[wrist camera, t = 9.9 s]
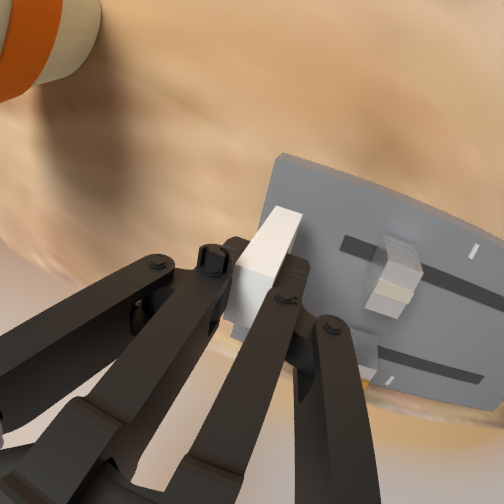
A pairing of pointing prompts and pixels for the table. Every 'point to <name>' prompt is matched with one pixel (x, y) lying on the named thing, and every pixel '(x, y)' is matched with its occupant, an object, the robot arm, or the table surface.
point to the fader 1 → (365, 354)
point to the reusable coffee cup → (44, 41)
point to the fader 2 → (391, 277)
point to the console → (425, 294)
